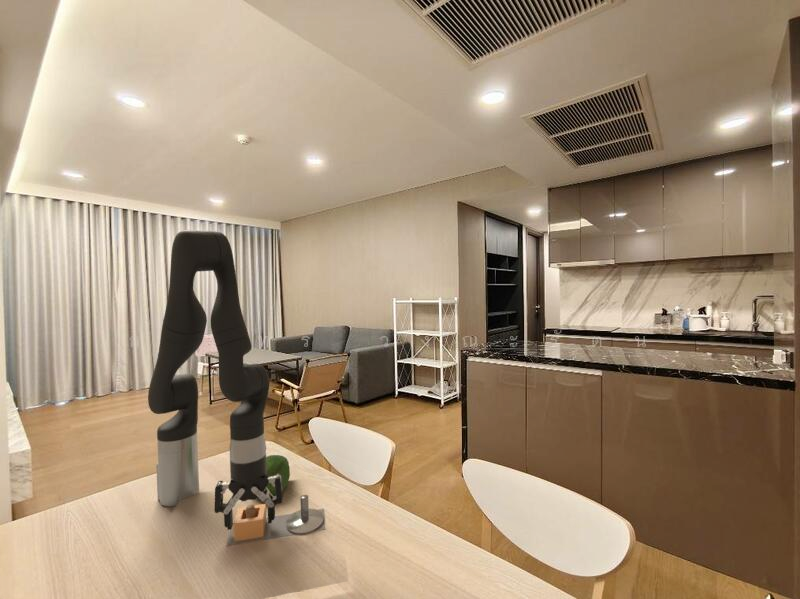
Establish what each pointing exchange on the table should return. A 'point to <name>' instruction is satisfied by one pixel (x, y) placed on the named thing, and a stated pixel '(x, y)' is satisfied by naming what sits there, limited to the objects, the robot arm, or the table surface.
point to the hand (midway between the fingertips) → (250, 524)
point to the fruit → (277, 470)
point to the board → (271, 530)
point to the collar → (250, 523)
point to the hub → (304, 519)
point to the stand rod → (250, 511)
